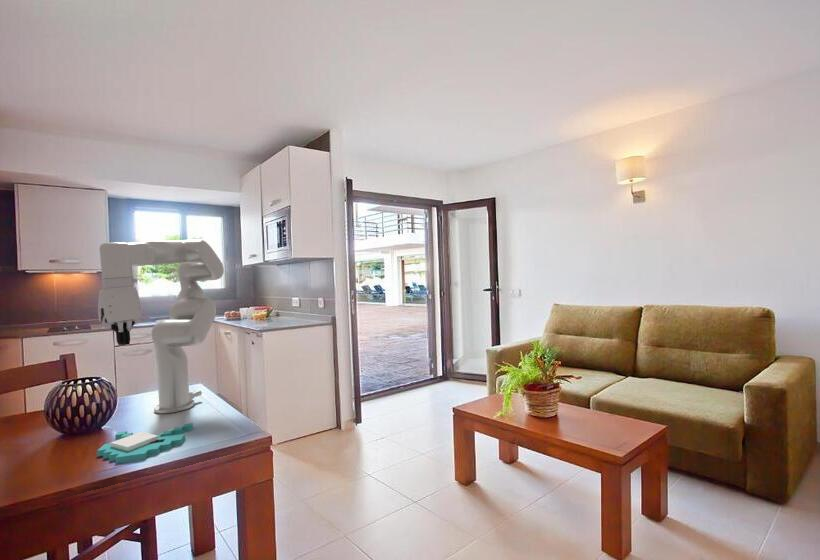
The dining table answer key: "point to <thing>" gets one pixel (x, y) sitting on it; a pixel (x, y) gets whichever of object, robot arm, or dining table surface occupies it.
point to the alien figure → (143, 452)
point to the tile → (134, 441)
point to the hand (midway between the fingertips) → (123, 344)
